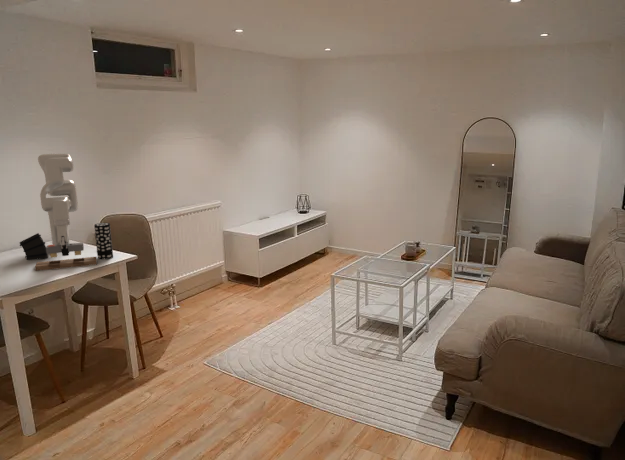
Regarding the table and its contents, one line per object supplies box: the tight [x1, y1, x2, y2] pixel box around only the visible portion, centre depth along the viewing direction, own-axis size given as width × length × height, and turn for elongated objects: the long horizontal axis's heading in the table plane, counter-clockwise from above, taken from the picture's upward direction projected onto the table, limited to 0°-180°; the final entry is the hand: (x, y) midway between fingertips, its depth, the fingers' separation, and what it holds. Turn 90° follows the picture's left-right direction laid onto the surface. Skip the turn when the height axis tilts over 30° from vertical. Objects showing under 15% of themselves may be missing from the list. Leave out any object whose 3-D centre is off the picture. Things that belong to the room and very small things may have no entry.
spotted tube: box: [94, 222, 114, 261], centre depth 280 cm, size 8×8×20 cm
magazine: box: [19, 232, 49, 261], centre depth 278 cm, size 4×13×15 cm, turn 104°
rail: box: [34, 256, 98, 272], centre depth 267 cm, size 8×30×2 cm, turn 113°
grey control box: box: [45, 242, 84, 258], centre depth 265 cm, size 4×18×7 cm, turn 113°
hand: (65, 254), depth 265 cm, fingers closed on grey control box, 4 cm apart
